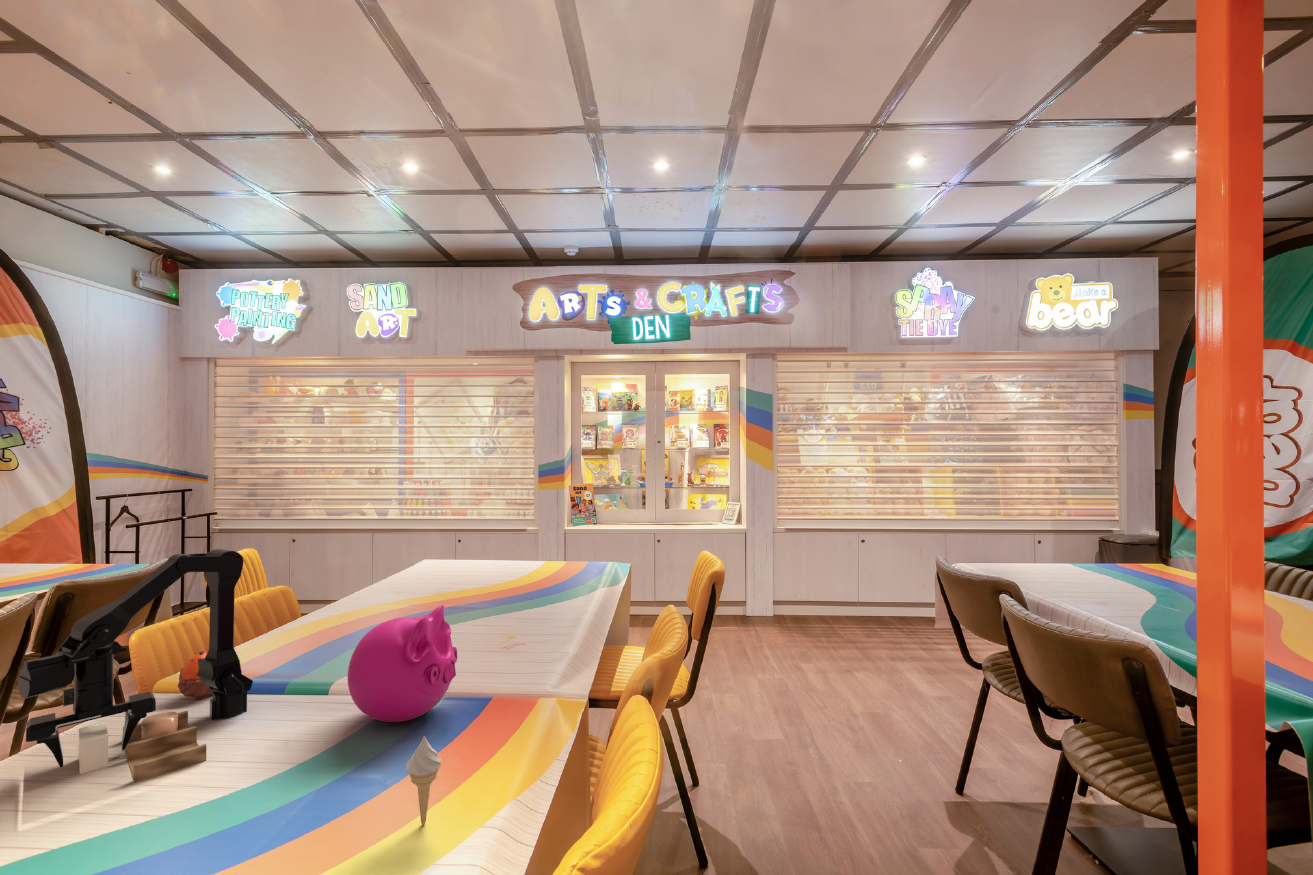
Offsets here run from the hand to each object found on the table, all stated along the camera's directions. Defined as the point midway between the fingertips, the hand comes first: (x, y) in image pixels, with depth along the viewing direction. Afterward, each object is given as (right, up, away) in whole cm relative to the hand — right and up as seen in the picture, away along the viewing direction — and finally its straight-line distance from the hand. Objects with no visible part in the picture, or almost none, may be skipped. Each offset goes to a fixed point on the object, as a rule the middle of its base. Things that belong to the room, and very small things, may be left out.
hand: (93, 757), depth 120 cm
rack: (+10, -2, +5) cm, 11 cm away
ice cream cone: (+74, -1, -19) cm, 76 cm away
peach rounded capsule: (+6, -1, +9) cm, 11 cm away
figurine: (+53, -2, +22) cm, 58 cm away
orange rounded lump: (-3, -3, +34) cm, 34 cm away
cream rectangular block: (0, -2, 0) cm, 2 cm away
